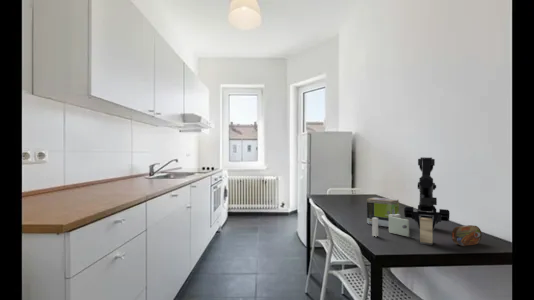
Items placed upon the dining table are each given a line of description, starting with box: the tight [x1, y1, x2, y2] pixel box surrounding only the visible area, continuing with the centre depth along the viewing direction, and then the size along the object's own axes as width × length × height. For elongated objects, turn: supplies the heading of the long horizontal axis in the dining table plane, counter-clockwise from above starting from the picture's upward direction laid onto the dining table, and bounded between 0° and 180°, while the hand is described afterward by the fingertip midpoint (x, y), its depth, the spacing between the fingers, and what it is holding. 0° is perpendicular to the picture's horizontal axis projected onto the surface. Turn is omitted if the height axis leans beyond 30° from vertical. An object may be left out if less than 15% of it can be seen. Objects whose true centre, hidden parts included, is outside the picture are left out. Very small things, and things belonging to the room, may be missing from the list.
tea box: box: [366, 197, 400, 228], centre depth 175 cm, size 15×10×15 cm, turn 45°
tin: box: [451, 224, 482, 247], centre depth 137 cm, size 15×3×8 cm, turn 106°
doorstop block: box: [419, 216, 434, 246], centre depth 139 cm, size 5×5×11 cm
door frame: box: [371, 213, 401, 238], centre depth 155 cm, size 22×2×9 cm, turn 126°
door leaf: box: [388, 217, 410, 238], centre depth 152 cm, size 10×2×8 cm, turn 36°
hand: (426, 229), depth 138 cm, fingers closed on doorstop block, 5 cm apart
